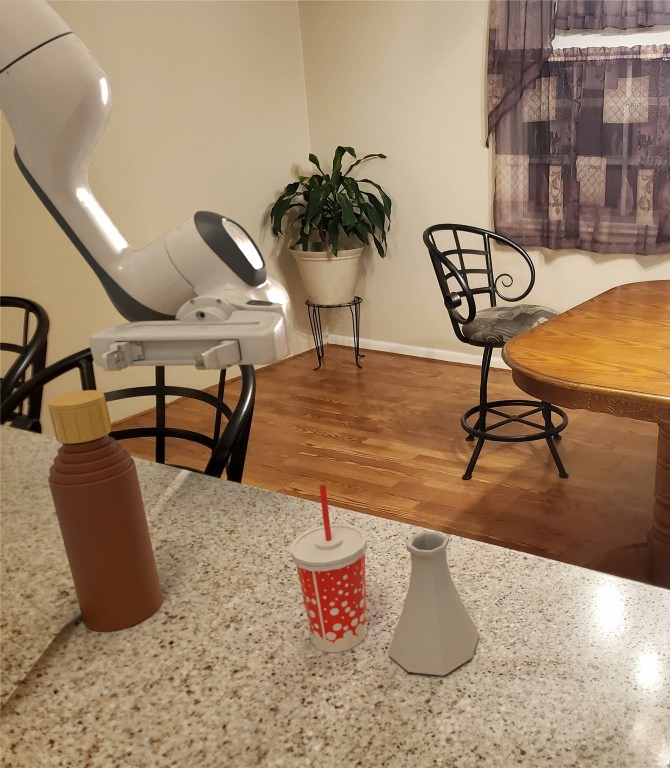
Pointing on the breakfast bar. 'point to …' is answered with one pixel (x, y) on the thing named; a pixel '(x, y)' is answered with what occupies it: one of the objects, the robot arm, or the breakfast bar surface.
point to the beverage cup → (333, 582)
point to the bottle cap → (79, 416)
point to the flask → (432, 613)
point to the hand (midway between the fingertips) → (155, 362)
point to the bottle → (105, 533)
